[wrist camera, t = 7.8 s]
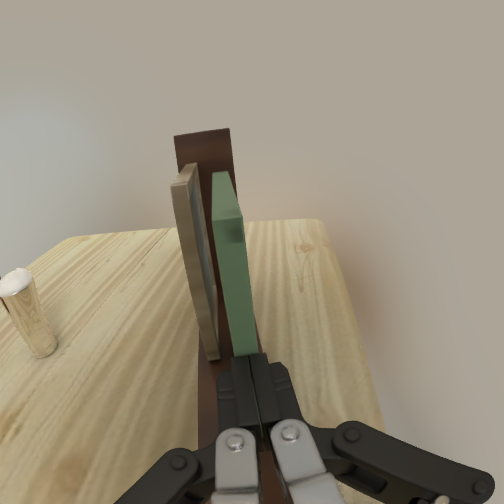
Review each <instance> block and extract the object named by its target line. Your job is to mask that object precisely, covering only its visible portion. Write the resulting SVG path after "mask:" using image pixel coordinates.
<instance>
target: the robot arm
mask: <svg viewBox="0 0 504 504" xmlns="http://www.w3.org/2000/svg"><path fill="white" fill-rule="evenodd" d="M249 359H250V365H251V372H252V378H253V383H252V378H251V372H250V367H249V361H248V355H245V356H239V357H232V358H231V365H232V370H225V371H220V373H219V375H218V377H217V379H216V391H217V408H218V422H219V433H218V436H217V438H216V439H215V440H214V442H212V443H211V444H210V445H208V446H206V447H204V448H201V449H199V450H196V451H193V452H192V451H190V450H188V449H185V448H175V449H172V450H169V451H168V452H166V453H165V454H164V455H163V456H162V457H161V458H160V459H159V460H158V461H157V462H156V463H155V464H154V465H153V466H152V467H151V468H150V469H149V470H148V471H147V472H146V473H145V474H144V475H143V476H142V477H141V478H140V479H139V480H138V481H137V482H136V483H135V484H134V485H133V486H132V487H131V488H130V489H129V490H128V491H126V492H125V493H124V494H123V495H122V496H121V497H120V498H119V499H118V500H117V501H116V502H115V503H114V504H205V503H206V502H207V501H208V500H209V499H210V497H211V504H264V497H263V486H262V474H261V468H262V463H261V457H260V453H261V452H264V446H263V440H262V434H261V428H262V433H263V438H264V443H265V448H266V452H267V451H271V452H272V457H273V461H274V468H275V471H276V474H277V477H278V481H279V484H280V487H281V490H282V493H283V496H284V499H285V502H286V504H346V502H345V500H344V497H343V495H342V493H341V491H340V489H339V486H338V484H337V482H336V480H335V479H337V480H338V481H340V482H342V483H344V484H346V485H348V486H350V487H352V488H354V489H355V490H357V491H359V492H361V493H363V494H366V495H368V496H370V497H372V498H374V499H376V500H378V501H380V502H383V503H385V504H483V503H484V502H486V501H487V500H488V499H489V498H490V497H491V496H492V494H493V492H494V489H495V482H494V479H493V478H492V476H491V475H490V474H489V473H487V472H484V471H481V470H478V469H475V468H472V467H468V466H466V465H463V464H460V463H456V462H454V461H451V460H449V459H446V458H443V457H440V456H438V455H435V454H432V453H430V452H427V451H425V450H422V449H420V448H417V447H415V446H413V445H410V444H408V443H405V442H403V441H401V440H398V439H396V438H394V437H392V436H389V435H387V434H385V433H383V432H380V431H378V430H376V429H374V428H372V427H370V426H368V425H365V424H363V423H361V422H358V421H347V422H344V423H342V424H340V425H339V426H338V427H337V428H317V427H314V426H311V425H310V424H308V423H307V422H306V421H305V420H304V419H303V417H302V414H301V411H300V408H299V405H298V402H297V398H296V395H295V392H294V389H293V386H292V382H291V380H290V376H289V373H288V370H287V368H286V367H285V366H284V365H283V364H282V363H281V362H276V363H271V364H269V363H268V359H267V355H266V352H264V353H258V354H251V355H249ZM253 385H254V389H253ZM254 390H255V395H254ZM255 396H256V400H255ZM256 401H257V405H256ZM257 407H258V411H257ZM258 412H259V416H258ZM259 417H260V422H261V428H260V422H259Z"/></svg>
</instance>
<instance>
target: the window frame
mask: <svg viewBox="0 0 504 504" xmlns="http://www.w3.org/2000/svg"><path fill="white" fill-rule="evenodd" d="M174 144H175V150H176V158H177V165H178V172H179V175H178V176H177V177H176V179H175V180H174V182H173V183H172V184H171V186H170V190H171V196H172V202H173V207H174V213H175V218H176V224H177V229H178V234H179V239H180V244H181V249H182V254H183V259H184V264H185V269H186V273H187V278H188V282H189V287H190V291H191V296H192V300H193V304H194V308H195V313H196V317H197V321H198V325H199V356H198V450H199V449H201V448H204V447H206V446H208V445H210V444H211V443H212V442H214V440H215V439H216V438H217V436H218V433H219V422H218V408H217V391H216V379H217V377H218V375H219V373H220V371H225V370H232V365H231V358H232V357H235V356H234V351H233V345H232V340H231V335H230V329H229V323H228V318H227V312H226V307H225V301H224V295H223V289H222V283H221V277H220V271H219V265H218V259H217V253H216V246H215V240H214V233H213V227H212V174H213V173H216V172H223V171H228V173H229V176H230V179H231V183H232V186H233V189H234V192H235V195H236V198H237V191H236V183H235V173H234V165H233V156H232V147H231V138H230V129H229V128H224V129H216V130H209V131H202V132H195V133H189V134H183V135H177V136H174ZM237 201H238V199H237ZM254 320H255V317H254ZM255 329H256V337H257V345H258V353H263V352H262V347H261V343H260V339H259V334H258V330H257V325H256V321H255ZM262 440H263V446H264V452H261V453H260V457H261V463H262V468H261V474H262V486H263V497H264V504H286V502H285V499H284V496H283V493H282V490H281V487H280V484H279V481H278V477H277V474H276V471H275V468H274V461H273V457H272V452H271V451H267V452H266V448H265V443H264V438H262ZM205 504H211V497H210V499H209V500H208V501H207V502H206V503H205Z"/></svg>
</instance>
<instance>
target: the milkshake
mask: <svg viewBox="0 0 504 504" xmlns="http://www.w3.org/2000/svg"><path fill="white" fill-rule="evenodd" d="M0 301H1V303H2V305H3V306H4V308H5V310H6V311H7V313H8V315H9V316H10V318H11V320H12V321H13V323H14V325H15V326H16V328H17V330H18V331H19V333H20V334H21V336H22V338H23V339H24V341H25V342H26V344H27V345H28V347H29V349H30V350H31V352H32V353H33V354H34V356H35V357H38V358H43V357H46V356H49V355H50V354H51V353H52V352H54V351H55V349H56V346H57V342H56V340H55V338H54V335H53V333H52V330H51V328H50V326H49V323H48V321H47V318H46V315H45V313H44V310H43V307H42V304H41V301H40V298H39V295H38V291H37V288H36V285H35V281H34V278H33V274H32V273H31V272H30V271H29V270H27V269H23V268H20V267H19V268H17V269H16V270H15V271H12V272H9V273H8V274H7V275H6V276H4V277H3V278H2V279H1V277H0Z"/></svg>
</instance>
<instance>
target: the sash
mask: <svg viewBox="0 0 504 504" xmlns="http://www.w3.org/2000/svg"><path fill="white" fill-rule="evenodd" d="M212 227H213V233H214V240H215V246H216V253H217V259H218V265H219V271H220V277H221V283H222V289H223V295H224V301H225V307H226V312H227V318H228V323H229V329H230V335H231V340H232V345H233V351H234V356H235V357H239V356H245V355H248V361H249V367H250V372H251V365H250V359H249V355H251V354H258V345H257V337H256V329H255V320H254V312H253V303H252V295H251V286H250V277H249V269H248V260H247V251H246V243H245V234H244V225H243V216H242V213H241V210H240V207H239V204H238V201H237V198H236V195H235V192H234V189H233V186H232V183H231V179H230V176H229V173H228V171H223V172H216V173H213V174H212ZM251 378H252V372H251ZM252 383H253V378H252ZM253 389H254V385H253ZM254 395H255V390H254ZM255 400H256V396H255ZM256 405H257V401H256ZM257 411H258V407H257ZM258 416H259V412H258ZM259 422H260V417H259ZM260 428H261V422H260ZM261 434H262V438H263V433H262V428H261Z"/></svg>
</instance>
